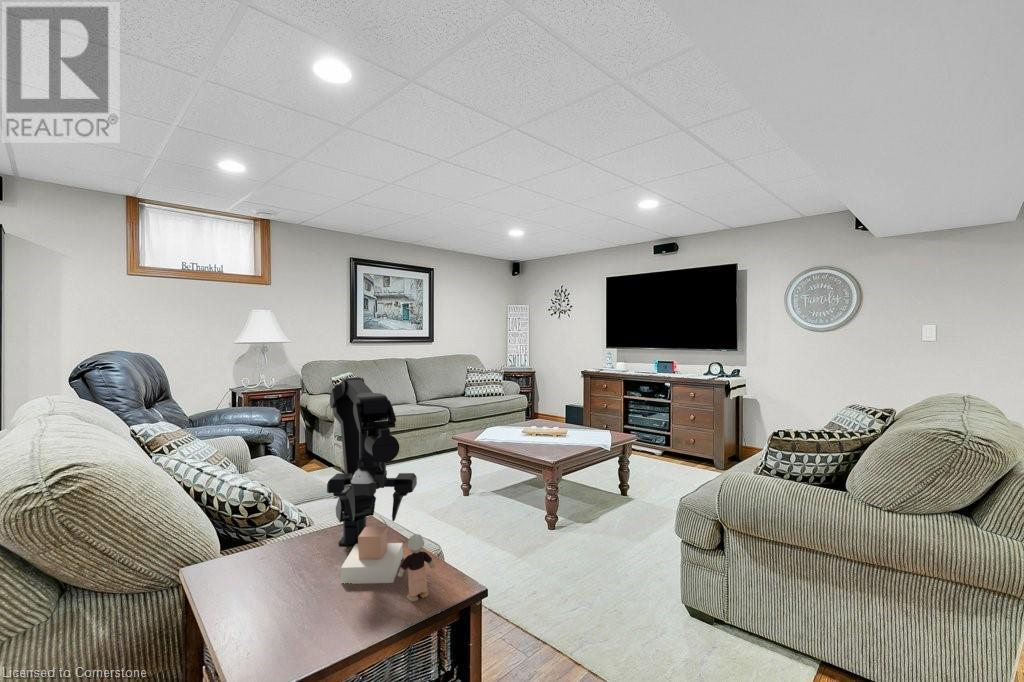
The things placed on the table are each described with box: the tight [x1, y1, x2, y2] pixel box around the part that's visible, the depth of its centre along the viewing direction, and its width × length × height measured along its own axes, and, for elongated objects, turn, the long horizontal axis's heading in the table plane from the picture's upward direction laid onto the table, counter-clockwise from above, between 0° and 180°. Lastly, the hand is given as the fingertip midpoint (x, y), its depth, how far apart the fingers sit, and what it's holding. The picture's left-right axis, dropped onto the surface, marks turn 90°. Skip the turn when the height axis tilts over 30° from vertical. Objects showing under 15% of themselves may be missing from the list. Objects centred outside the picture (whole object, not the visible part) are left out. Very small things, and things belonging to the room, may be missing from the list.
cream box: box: [340, 542, 404, 585], centre depth 106 cm, size 11×11×4 cm
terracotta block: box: [358, 526, 388, 559], centre depth 106 cm, size 5×5×5 cm
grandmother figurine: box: [397, 533, 436, 603], centre depth 96 cm, size 8×4×13 cm, turn 135°
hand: (373, 520), depth 106 cm, fingers open, 9 cm apart
